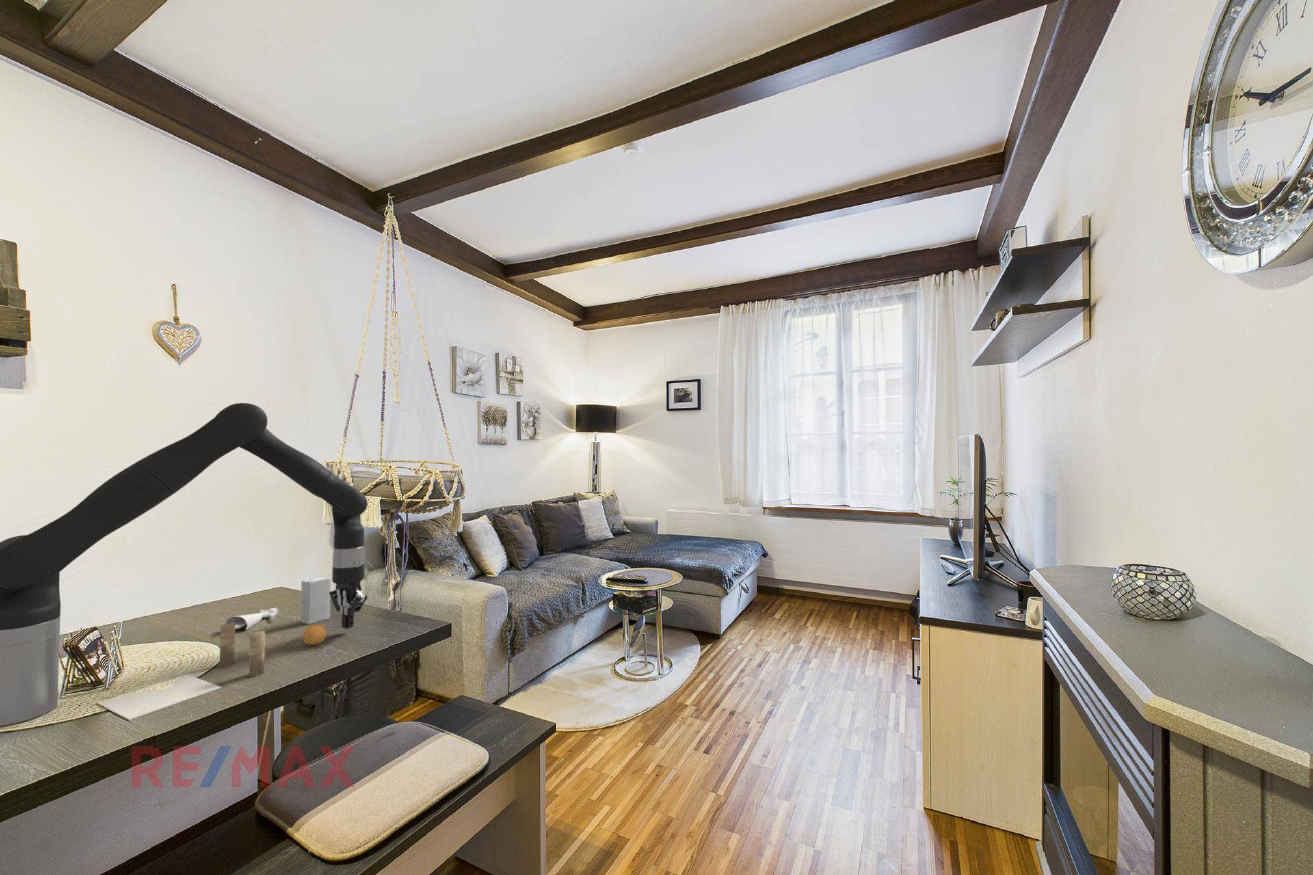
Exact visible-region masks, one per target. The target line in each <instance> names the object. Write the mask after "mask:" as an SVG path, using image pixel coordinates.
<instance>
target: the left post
mask: <svg viewBox="0 0 1313 875" xmlns="http://www.w3.org/2000/svg"><path fill="white" fill-rule="evenodd" d="M235 646H236V629H235V623H227V624H224V623H223V624H221V625H220V639H219V667H228V666H231V665H233V664H235V656H236V654H235V652H236V651H235V649H236V648H235Z"/></svg>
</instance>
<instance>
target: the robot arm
mask: <svg viewBox="0 0 1313 875" xmlns="http://www.w3.org/2000/svg"><path fill="white" fill-rule="evenodd" d="M267 426H268V416H267V414H266V412H265V411H264V410H263V409H262V408H261V407H260V406H257V405H255V404H252V403H248V402H237V403H233V404H230V405H228V406H226V407H224V408H222V410H220V411H219V412H218V413H217V414H216V415H215V416H214V417H213V418H212V419H211V420H209V421H207V423H205V424H204V425H203V426H201V427H200V428H198V429H197V430H195V431H194V432H192V433H191V434H188V435H187V436H186V437H183V438H182V439H179V440H177V441H175V442H173V443H171V444H168V445H166V446H165V447H162V448H160V449H157V450H156V451H154V452H152V453H151V454H149V455H146V456H144V457H143V458H141V459H140V460H137V461H136V462H135V463H133V464H131V465H129V466H127V467H126V468H124V469H123V470H121V471H119V472H118V473H116V474H114V475H113V476H112V477H111V478H109V479H107V480H106V481H104V482H103V483H102V484H101V485H99V486H98V487H97V488H96V489H94V490H93V491H92V492H91V493H89V494H88V495H87V496H86V497H85V498H84V499H83V500H81V502H79V503H78V504H77V505H76V506H75V507H73V508H72V509H71V510H69V511H67V512H66V513H65V514H63V515H61V516H60V517H58V518H57V519H55V520H53V521H51V522H48V523H47V524H46V525H44V526H42V527H40V528H38V529H37V530H36V529H35V530H34V531H32V532H30V533H29V534H24V535H23V534H21V535H16V536H13V537H8V538H7V539H4V540H1V541H0V727H4V726H10V725H13V724H17V723H21V722H22V723H23V722H25V721H29V720H32V719H34V718H37V717H41V716H43V715H45V714H47V713H49V712H51V711H52V710H54V709H56V708H57V707H58V701H59V675H60V674H59V672H60V671H59V667H60V665H59V664H60V643H61V642H60V639H61V637H60V636H61V635H60V634H61V610H62V608H61V606H62V605H61V604H62V602H61V594H60V577H61V575H60V573H61V572H62V571H63V570H64V569H65V568H67V567H68V566H69V565H70V564H71V563H72V562H74V561H75V560H76V559H77V558H79V557H80V556H81V555H83V554H84V553H85V552H87V551H88V550H89V549H90V548H91V547H92V546H94V545H96V544H97V543H98V542H100V541H101V540H102V539H104V538H105V537H106V536H109V535H111V534H112V533H113V532H115V531H117V530H119V529H121V528H123V527H124V526H126V525H128V524H129V523H131V522H132V521H135V520H136V519H137V518H139V517H141V516H142V515H144V514H145V513H148V511H150V510H152V509H153V508H155V507H157V506H158V505H160V504H161V503H163V502H164V501H165V500H168V499H169V498H170V497H171V496H173V495H174V494H176V493H177V492H179V491H180V490H181V489H182V488H183V489H184V487H185V486H187V485H188V484H189V483H190V482H193V480H195V479H196V478H197V477H198V476H199V475H201V473H203V472H204V471H205V470H206V469H208V468H209V467H210V466H211V465H213V464H214V463H215V462H216V461H218V460H219V459H221V458H222V457H223V456H226V455H228V454H229V453H231V452H232V451H234V450H236V449H238V448H240V449H243V450H244V451H247V452H249V453H250V454H252V455H254V456H256V457H257V458H259V459H261V460H262V461H264V462H266V463H267V464H269V465H270V466H272V467H273V468H275V469H277V470H278V471H279V472H281V473H282V474H283V475H285V476H286V477H288V478H289V479H291V480H292V481H293V482H295V483H296V484H298V485H299V486H301V487H302V488H303V489H304V490H306V491H308V493H311V494H312V495H313V496H315V497H318V498H320V499H322V500H323V501H325V502H326V503H327V504H329V506H331V508H332V510H331V513H332V521H333V527H334V535H333V554H332V570H331V572H332V573H331V576H332V577H331V580H332V583H334V584H335V588H334V590H330V600H331V601H332V602H333V606H334V608H335V610H336V612H339V613H340V615H341V627H342V629H346V630H348V629H351V628H353V627H354V621H355V618H354V615H355V613H357V612H360V611H361V609H362V607H363V606H364V604H365V602H366V601H367V599H368V595H367V594H363V593H362V585H361V582H362V581H363V580H365V574H366V572H365V570H366V568H365V565H366V564H365V563H366V562H365V561H366V551H365V529H364V527H363V525H362V522H361V521H362V518H361V515H363V513H365V511H366V510H367V508H368V500H367V499H368V498H367V496H366V495H365V494H364V493H362V491H360V489H359V490H358V489H357V488H355V487H354V486H353V485H351V484H350V483H347V482H346V481H344V480H342V479H341V478H340V477H338V475H336V474H335V473H334V472H332V471H331V470H330V469H328V468H327V467H326V466H324V465H323V464H322V463H321V462H319V461H317V460H316V459H314V458H312V457H311V456H309V455H308V454H305V453H303V452H301V450H300V451H299V450H298V449H297V448H294V447H292V446H291V445H289V444H287V442H284V441H283V440H281V439H280V438H278V437H277V436H276V435H275V434H274V433H272V432H271V431H270V430H269V429H268V428H267Z"/></svg>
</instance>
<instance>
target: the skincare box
mask: <svg viewBox="0 0 1313 875" xmlns="http://www.w3.org/2000/svg"><path fill="white" fill-rule="evenodd" d="M300 588H301V589H300V590H301V592H300V594H301V595H300V596H301V599H300V600H301V601H300V603H301V604H300V605H301V606H300V622H301V623H303V624H305V623H306V625H313V624H315V623H316V624H317V623H319V622H323V621H326V620H329V619H331V596H330V592H331V578H330V577H327V576H319V577H316V578H315V577H314V578H309V579H306V580H305V579H304V580H301V587H300ZM318 621H319V622H318Z"/></svg>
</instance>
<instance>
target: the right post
mask: <svg viewBox="0 0 1313 875" xmlns="http://www.w3.org/2000/svg"><path fill="white" fill-rule="evenodd" d="M265 640H266V631H265V630H257V631H254V632H251V633H250V634H249V663H248V664H249V669H248V673H249V674H248V676H249V677H252V678H253V677H258V676H261V675H263V674H264V673H265V651H266V650H265V649H266V647H265V645H266V644H265V642H266V641H265Z"/></svg>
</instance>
